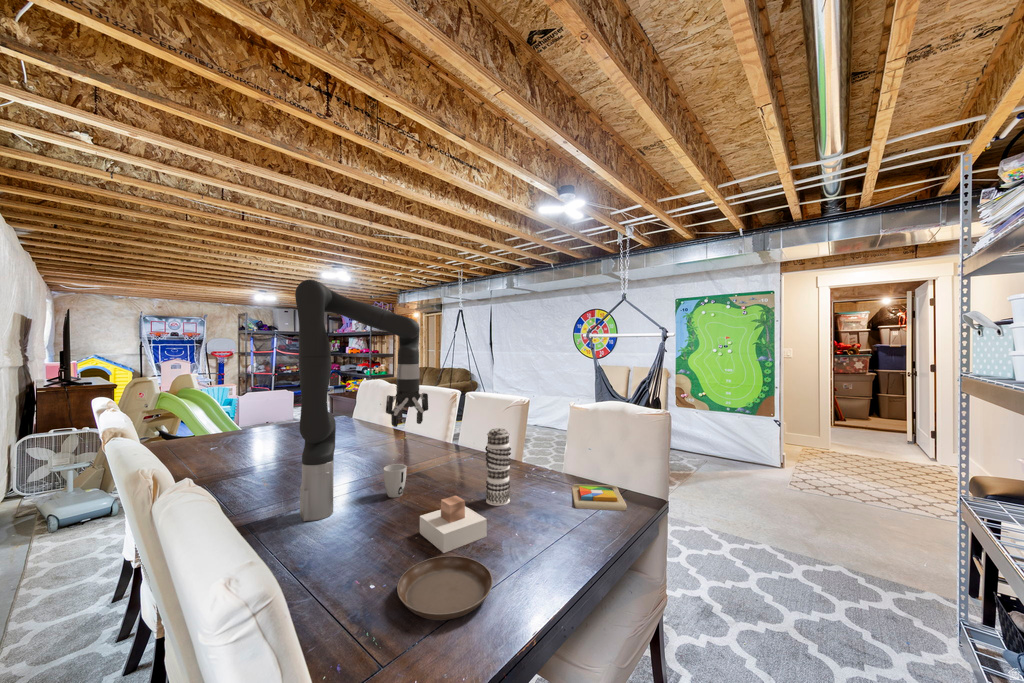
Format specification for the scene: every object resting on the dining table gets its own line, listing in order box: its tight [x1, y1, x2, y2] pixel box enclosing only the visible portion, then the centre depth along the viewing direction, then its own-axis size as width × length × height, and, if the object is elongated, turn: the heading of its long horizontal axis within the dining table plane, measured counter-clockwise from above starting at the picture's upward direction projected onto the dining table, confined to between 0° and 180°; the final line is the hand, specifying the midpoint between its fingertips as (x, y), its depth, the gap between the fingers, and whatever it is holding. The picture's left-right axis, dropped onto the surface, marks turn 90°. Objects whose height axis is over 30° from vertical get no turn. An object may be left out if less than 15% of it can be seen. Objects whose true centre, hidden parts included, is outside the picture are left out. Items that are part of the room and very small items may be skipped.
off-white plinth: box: [419, 505, 488, 554], centre depth 112 cm, size 14×14×5 cm
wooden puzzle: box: [571, 483, 628, 512], centre depth 139 cm, size 18×19×4 cm
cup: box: [383, 463, 408, 498], centre depth 141 cm, size 8×8×10 cm
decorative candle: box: [485, 428, 512, 507], centre depth 136 cm, size 9×9×25 cm
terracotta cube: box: [440, 495, 466, 523], centre depth 112 cm, size 5×5×5 cm
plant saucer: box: [396, 555, 494, 621], centre depth 85 cm, size 21×21×3 cm
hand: (407, 425), depth 131 cm, fingers open, 8 cm apart
